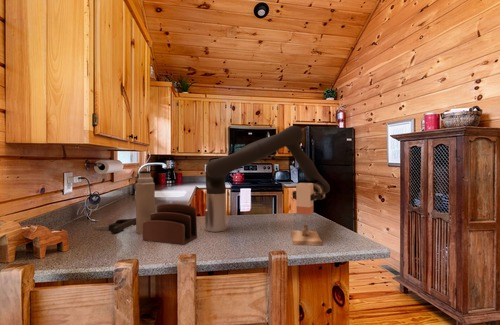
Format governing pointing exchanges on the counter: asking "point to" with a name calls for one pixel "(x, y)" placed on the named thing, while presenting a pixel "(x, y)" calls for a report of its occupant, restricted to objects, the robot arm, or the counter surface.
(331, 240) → the counter surface
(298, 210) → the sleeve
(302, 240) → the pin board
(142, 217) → the thermos bottle
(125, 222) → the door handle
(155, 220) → the letter holder
